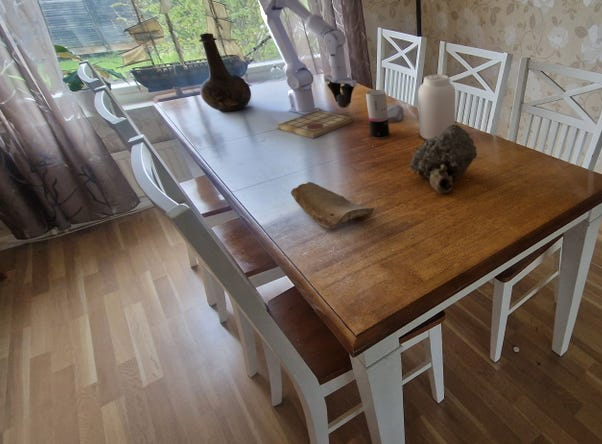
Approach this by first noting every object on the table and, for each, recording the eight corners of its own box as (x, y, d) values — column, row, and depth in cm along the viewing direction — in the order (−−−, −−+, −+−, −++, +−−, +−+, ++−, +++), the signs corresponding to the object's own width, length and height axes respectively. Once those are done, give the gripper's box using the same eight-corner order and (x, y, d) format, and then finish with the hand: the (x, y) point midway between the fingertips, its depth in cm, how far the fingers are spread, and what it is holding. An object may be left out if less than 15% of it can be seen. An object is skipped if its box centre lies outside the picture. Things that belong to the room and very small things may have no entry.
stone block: (400, 126, 145) (405, 113, 152) (398, 115, 141) (403, 102, 148) (370, 126, 146) (376, 113, 153) (368, 115, 142) (374, 102, 149)
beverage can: (366, 136, 131) (361, 93, 123) (378, 131, 136) (373, 88, 128) (382, 140, 129) (377, 96, 120) (393, 134, 134) (389, 91, 125)
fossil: (325, 200, 101) (289, 206, 93) (326, 177, 98) (289, 181, 91) (375, 229, 88) (338, 239, 81) (377, 204, 86) (339, 211, 79)
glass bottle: (263, 106, 158) (243, 33, 143) (222, 118, 146) (196, 38, 130) (238, 99, 166) (217, 29, 150) (197, 110, 154) (170, 34, 138)
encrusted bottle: (447, 110, 102) (457, 119, 89) (481, 147, 108) (496, 161, 95) (401, 158, 106) (403, 173, 92) (436, 191, 111) (444, 210, 98)
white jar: (428, 144, 127) (427, 83, 115) (414, 132, 136) (411, 74, 124) (460, 138, 131) (462, 78, 120) (444, 126, 141) (445, 70, 129)
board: (278, 128, 137) (277, 124, 136) (318, 113, 151) (318, 109, 151) (313, 138, 130) (312, 133, 129) (352, 121, 144) (352, 117, 143)
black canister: (335, 106, 148) (333, 93, 145) (343, 103, 151) (341, 91, 148) (344, 108, 146) (342, 95, 143) (352, 105, 149) (350, 92, 147)
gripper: (316, 65, 140) (322, 102, 148) (345, 70, 134) (350, 108, 142) (329, 62, 145) (335, 97, 153) (358, 67, 139) (362, 103, 147)
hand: (343, 102), depth 148 cm, fingers closed on black canister, 4 cm apart
